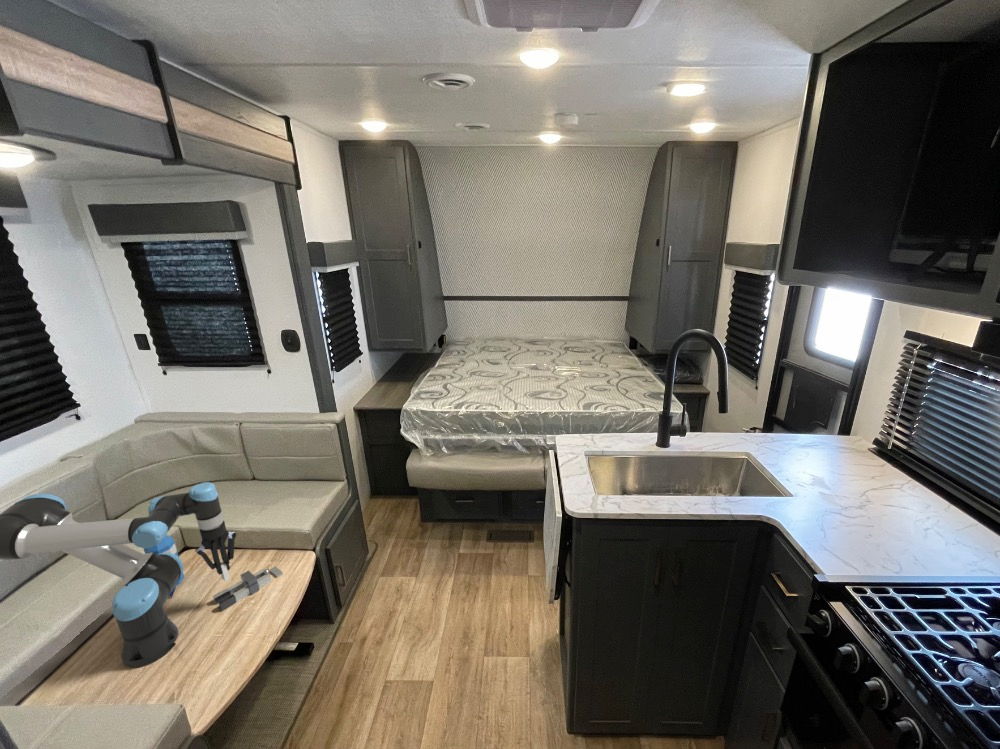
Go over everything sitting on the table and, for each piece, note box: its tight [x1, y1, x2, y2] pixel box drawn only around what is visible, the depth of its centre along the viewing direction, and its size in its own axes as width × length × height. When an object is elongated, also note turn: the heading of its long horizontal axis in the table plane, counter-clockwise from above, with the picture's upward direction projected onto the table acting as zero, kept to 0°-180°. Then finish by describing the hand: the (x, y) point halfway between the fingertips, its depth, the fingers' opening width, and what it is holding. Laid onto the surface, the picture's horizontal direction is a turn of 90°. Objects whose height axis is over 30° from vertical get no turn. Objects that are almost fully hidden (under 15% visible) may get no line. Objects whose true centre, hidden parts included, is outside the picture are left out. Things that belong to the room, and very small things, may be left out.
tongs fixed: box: [217, 566, 284, 612], centre depth 166 cm, size 23×6×3 cm, turn 144°
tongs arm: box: [212, 568, 271, 605], centre depth 166 cm, size 19×4×4 cm, turn 140°
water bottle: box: [143, 534, 185, 590], centre depth 167 cm, size 9×9×25 cm
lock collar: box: [240, 570, 261, 596], centre depth 166 cm, size 3×7×6 cm, turn 54°
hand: (225, 578), depth 158 cm, fingers closed
